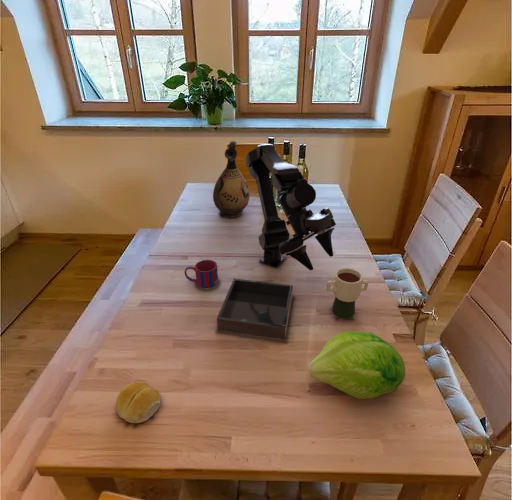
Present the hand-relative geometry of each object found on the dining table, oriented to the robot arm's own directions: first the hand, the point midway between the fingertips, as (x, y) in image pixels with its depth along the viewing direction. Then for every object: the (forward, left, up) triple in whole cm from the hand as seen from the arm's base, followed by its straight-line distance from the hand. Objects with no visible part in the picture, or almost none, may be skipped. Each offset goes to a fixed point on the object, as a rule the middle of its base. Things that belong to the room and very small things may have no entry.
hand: (322, 262), depth 97 cm
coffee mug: (+2, +8, -13) cm, 15 cm away
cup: (+12, -34, -13) cm, 38 cm away
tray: (+15, -12, -13) cm, 23 cm away
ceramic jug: (-35, -56, -13) cm, 67 cm away
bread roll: (+52, -18, -13) cm, 56 cm away
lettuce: (+23, +18, -13) cm, 32 cm away
